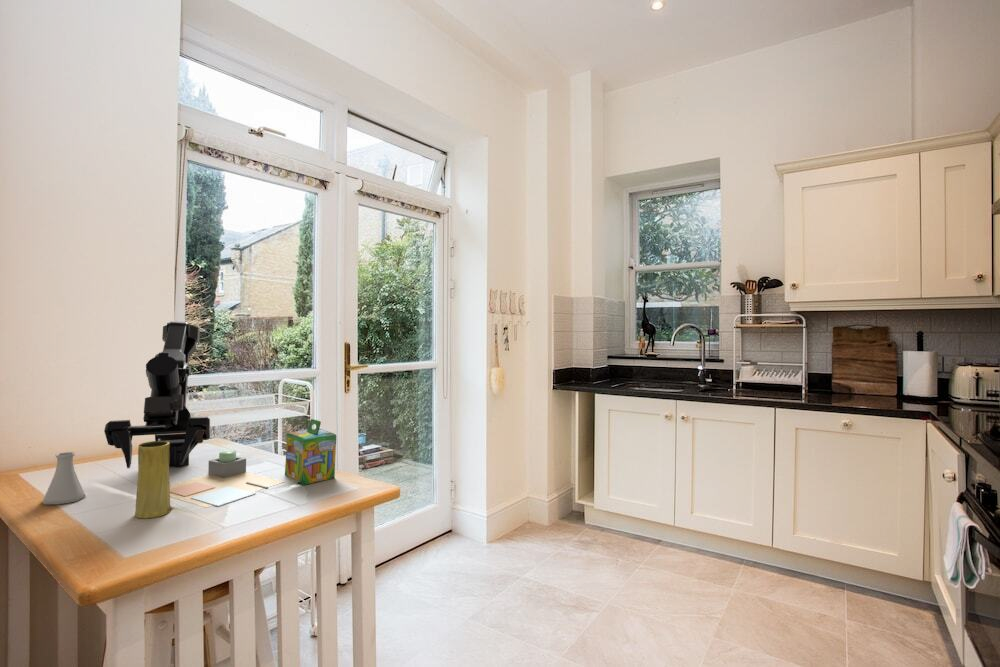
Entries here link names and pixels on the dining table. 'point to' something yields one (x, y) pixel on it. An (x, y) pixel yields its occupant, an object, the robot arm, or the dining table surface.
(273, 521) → the dining table surface
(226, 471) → the button housing
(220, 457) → the button
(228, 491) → the picture board
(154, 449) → the vase
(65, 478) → the flask
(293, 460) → the chalk box
